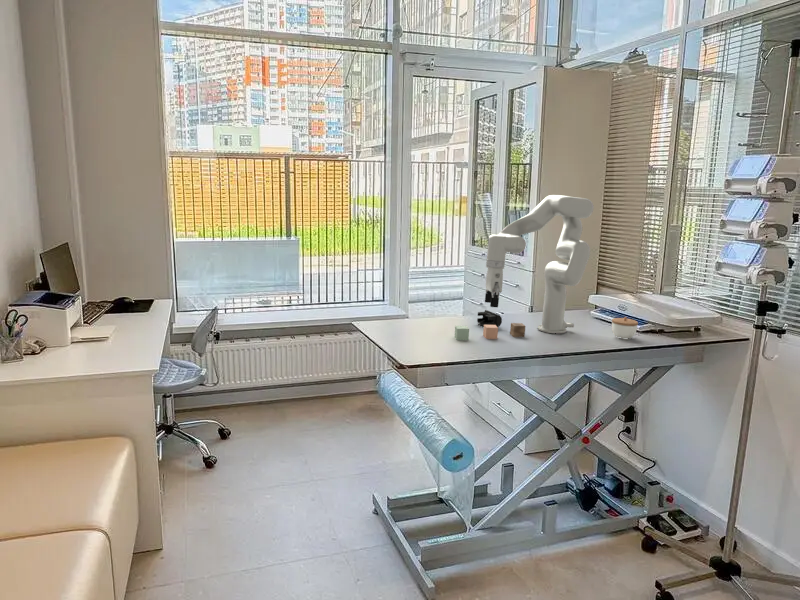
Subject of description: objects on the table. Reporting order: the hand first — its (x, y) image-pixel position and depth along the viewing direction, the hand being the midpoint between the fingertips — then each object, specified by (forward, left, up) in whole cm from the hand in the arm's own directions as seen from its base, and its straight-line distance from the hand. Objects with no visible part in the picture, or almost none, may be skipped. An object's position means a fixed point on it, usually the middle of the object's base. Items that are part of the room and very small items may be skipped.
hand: (491, 304), depth 250 cm
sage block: (+12, +3, -14) cm, 19 cm away
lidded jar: (-62, -4, -15) cm, 64 cm away
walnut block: (-14, -4, -14) cm, 20 cm away
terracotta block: (-1, 0, -14) cm, 14 cm away
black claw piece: (-5, -19, -15) cm, 25 cm away
